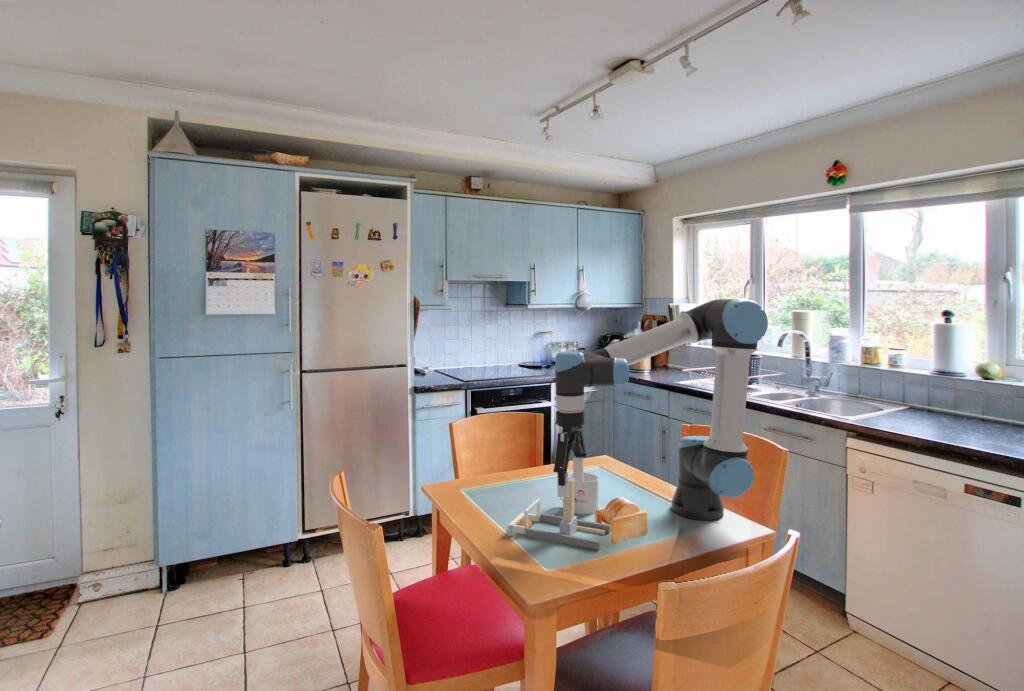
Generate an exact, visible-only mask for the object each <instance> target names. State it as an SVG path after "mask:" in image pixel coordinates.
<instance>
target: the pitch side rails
mask: <svg viewBox="0 0 1024 691" xmlns="http://www.w3.org/2000/svg"><path fill="white" fill-rule="evenodd" d="M562 519H563V516H561V515H560V516H559V515H552V514H547V513H541V512H540V522H543V523H549V524H555V525H559V526H560V522H561V520H562ZM609 525H610V524H607V523H600V522H596V521H595V522H594V521H589V520H584V519H578V518H577V531H582V532H587V533H592V534H593V533H594V534H597V535H603V536H605V535H606V534H610V533H611V526H609ZM559 533H560V532H559ZM559 533H558V532H553V531H547V530H542V529H538V528H532V527H531V528H526V534H525V537H528V538H534V539H539V540H545V541H549V542H555V543H560V544H563V545H564V544H565V545H571V546H576V547H582V548H584V549H585V548H586V549H592V550H598V551H600V549H601V540H597V539H591V538H587V537H586V538H585V537H580V536H575V535H573V536H570V535H565V534H559Z"/></svg>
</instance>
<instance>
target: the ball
mask: <svg viewBox="0 0 1024 691" xmlns="http://www.w3.org/2000/svg"><path fill="white" fill-rule="evenodd" d="M532 522H533V521H531V520H530V519H529V518H528V528H532V526H533V524H532ZM524 524H525V518H522V519H521V520H520V521H519V526H524Z"/></svg>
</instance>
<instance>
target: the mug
mask: <svg viewBox="0 0 1024 691" xmlns="http://www.w3.org/2000/svg"><path fill="white" fill-rule="evenodd" d="M583 476H584V481H576V480H575V491H574V514H578V515H592V514H595V511H596V510H598V511H599V493H600V492H599V491H600V490H599V489H600V487H599V485H600V484H599V483H600V478H599V476H598V475H596V474H594V473H591V472H583ZM568 478H573V473H572V474H570V475H568ZM559 499H560V500H561V501H562V502H563V497H559Z"/></svg>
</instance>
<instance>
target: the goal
mask: <svg viewBox="0 0 1024 691" xmlns="http://www.w3.org/2000/svg"><path fill="white" fill-rule="evenodd" d="M541 505H542V504H541V498H537V499H536V500H534V501H533V502H532V503H531V504H530V505H529V506H528V507H527V508H526V509H525V510H524V511H523V512H521V513H520V514H519V515H517V516H516V517H515V518H514V519H513V520H512V521H510V523H508V524H507V535H508V536H509V537H514V536H516V534H521V535H526V528H528V518H529V519H530V520H531V522H537V523H540V522H541V521H540V514H541ZM535 507H536V514H535V513H530V512H531V511H532V510H533V509H534V508H535ZM522 518H525V524H524V526H519V521H520V520H521V519H522Z"/></svg>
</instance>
